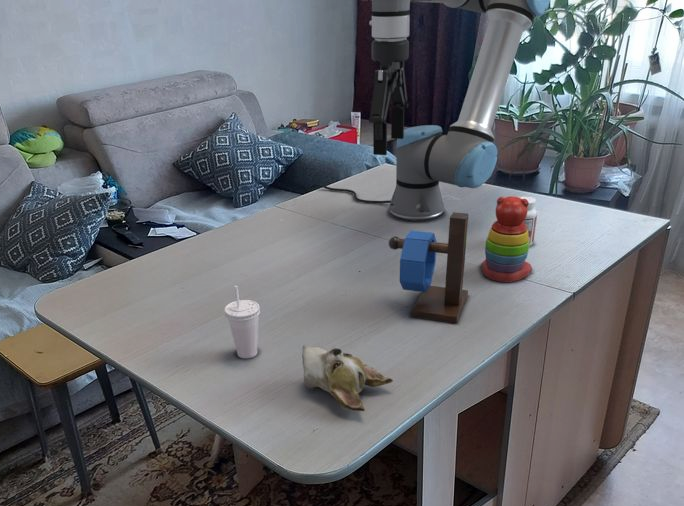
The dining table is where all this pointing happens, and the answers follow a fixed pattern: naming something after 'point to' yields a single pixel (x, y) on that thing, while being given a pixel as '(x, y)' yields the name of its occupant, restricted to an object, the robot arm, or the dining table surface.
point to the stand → (451, 297)
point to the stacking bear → (508, 242)
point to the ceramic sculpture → (339, 375)
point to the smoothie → (243, 325)
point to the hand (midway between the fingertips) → (389, 146)
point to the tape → (417, 261)
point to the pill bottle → (530, 218)
